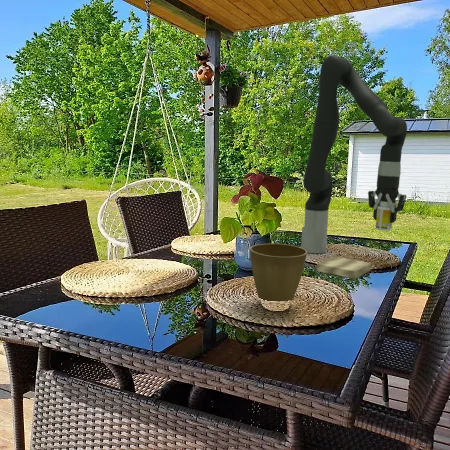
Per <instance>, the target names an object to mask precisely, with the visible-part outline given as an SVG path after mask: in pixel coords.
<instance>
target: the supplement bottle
mask: <svg viewBox="0 0 450 450" xmlns="http://www.w3.org/2000/svg"><path fill="white" fill-rule="evenodd" d="M391 212H392V211H391V208H390V206H389V204H388V202H383V201H380V206H378V207H377V217H376V220H375V229H377V230H378V231H379V230H380V231H391V230H392V228H393V223H390V215H391Z"/></svg>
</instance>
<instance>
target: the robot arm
mask: <svg viewBox="0 0 450 450" xmlns="http://www.w3.org/2000/svg"><path fill="white" fill-rule="evenodd" d="M353 66H354V65H352V63H351V62H350V61H349V60H348V59H347V58H345V57H342V56H338V55H334V54H332V55H329V56H327V57H326V58H325V59H324V60H323V62H322V63H321V67H320V71H319V72H320V73H319V84H318V85H319V86H318V87H319V89H318V96H317V97H318V98H317V103H316V111H315V116H314V117H315V118H314V121H313V123H314V124H313V129H312V136H311V143H310V150H309V156H308V159H307V164H306V167H305V172H304V176H303V186H304V187H303V188H304V189H305V190H306V191H307V192H308V193H309V197H308V199H307V200H306V201H305V203H304V204H305V205H304V209H305V210H304V224H303V226H302V228H301V241H300V243H301V244H300V245H301V248H303V249H305V250H306V251H307V254H308V253H309V254H317V253H318V254H325V253H326V252H327V241H328V222H329V206H330V204H331V201H332V193H333V177H332V174H331V173H330V172H329V170H327V169H326V167H327V166H326V165H327V160H328V158H329V157H328V156H329V154H330V152H331V150H332V149H333V146H334V144H335V142H336V139H337V136H338V131H339V126H340V110H339V106H338V96H337V95H338V88H339V86H342V87H343V88H344V89H345V90H347V91H348V92H349V94H351V95H352V97H353V99H354V100H355V102H356V104H357V106H358V107H359V108H360V110H362V112H363V113H364V114H365V115H366V116H367V117H368V118H369V119H370V120H371V121H372V123H373V125H374V126H375V128H376V129H377V130H378V132H379V133H380V134H381V135H383V136H384V137H386V139H385V143H384V144H383V145H382V146H381V148H380V154H379V162H378V170H377V177H376V179H377V180H376V189H375V190H368V191H367V195H368V196H367V197H368V207H369V208H372V209H373V211H372V213H373V214H372V215H373V216H372V217H373V219H374V220H375V221H376V217H377V207H378V206H380V201H383V202H388V204H389V206H390V208H391V211H392V212H391V215H390V223H392V224H393V223H395V222H396V221H397V217H398V216H397V215H398V212H402V211H403V210H404V207H405V204H406V200H407V195H406V194H402V193H399V188H400V179H401V174H402V173H401V171H402V169H401V168H402V166H401V165H402V164H401V162H402V150H403V147H404V144H405V141H406V138H407V133H408V124H407V122H406V120H405V119H404V118H402V117H400V116H395V115H393V114H392V113H391V111H389V107H388V105H387V104H386V103H385V101H384V100H383V99H381V98H380V97H379V96H378V95H377V94H376V92H374V91H373V90H372V89H371V88H370V87H369V85H368V84H366V83H365V81H364V80H363V78H361V76H360V75H359V74H358V72H357V71H356V69H355V68H354V67H353ZM376 197H377V198H376ZM396 199H397V200H398V202H397V200H396Z"/></svg>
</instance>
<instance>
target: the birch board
mask: <svg viewBox="0 0 450 450" xmlns="http://www.w3.org/2000/svg"><path fill="white" fill-rule="evenodd" d="M372 265H373V264H372V262H368V261H361V260H358V259H357V260H356V259H351V258H345V257H340V256H339V257H338V256H332V257H330V258H328V259H325V260H323V261H320V262H318V263H317V264H316V272H320V273H325V274H330V275H335V276H341V277H343V278H344V277H345V278H349V279H353V280H354V279H355V280H357V279H358V278H360V277H362V276H363V275H365V274H366V273H368V272H370V271H372Z"/></svg>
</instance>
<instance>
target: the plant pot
mask: <svg viewBox="0 0 450 450" xmlns="http://www.w3.org/2000/svg"><path fill="white" fill-rule="evenodd" d="M249 254H250V262H251V270H252V276H253V281H254V285H255V290H256V293H257V296H258V299H259V298H261V299H263V300H267V301H288V300H292V299H293V300H294V298H295V295H296V293H297V290H298V288H299V285H300V282H301V280H302V275H303V273H304V268H305V263H306V259H307V254H308V252H307V251H306V250H305V249H303V248H301V247H300V246H296V245H292V244H286V243H285V244H284V243H283V244H282V243H260V244H255V245H252V246H250V247H249ZM293 300H292V301H293Z"/></svg>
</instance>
